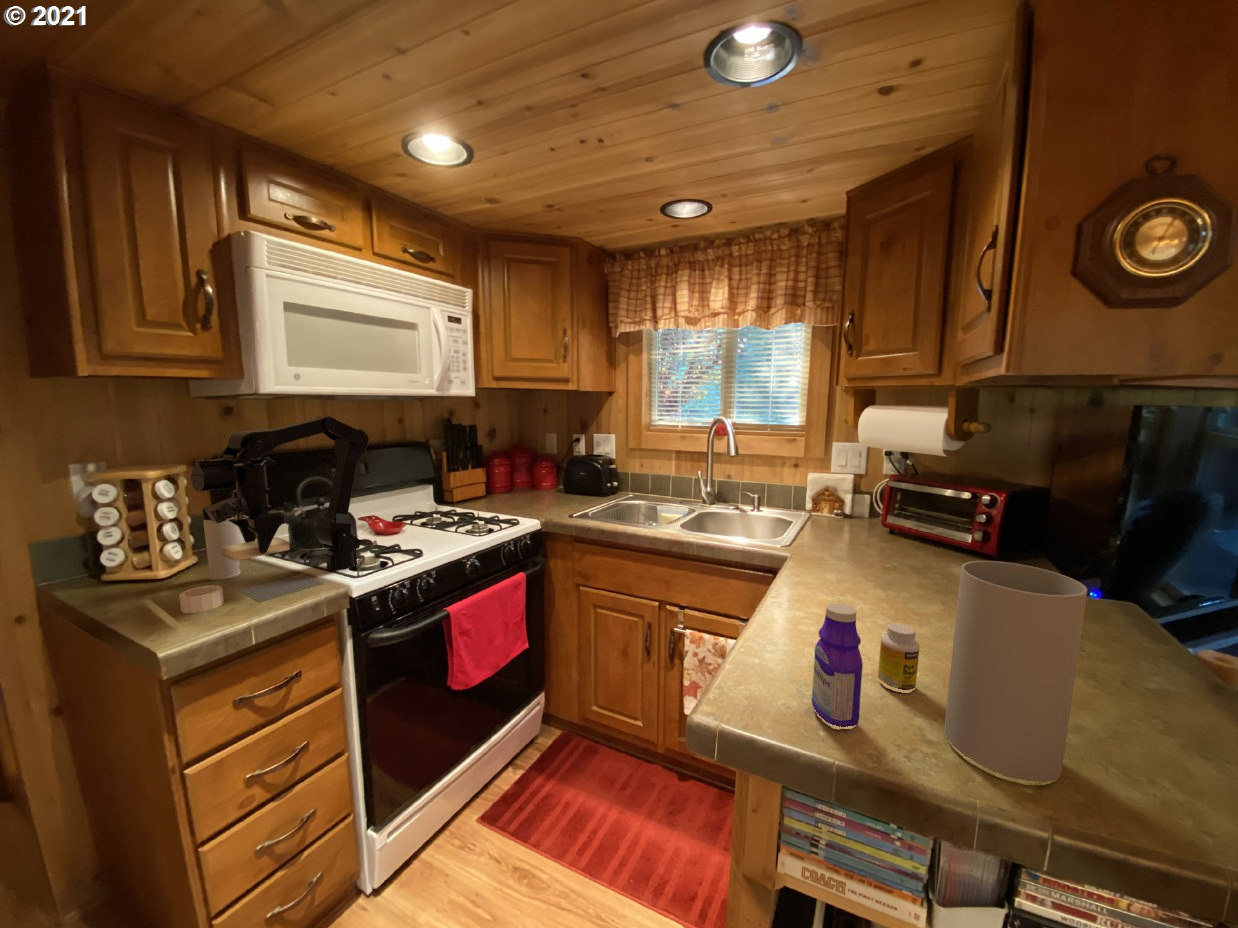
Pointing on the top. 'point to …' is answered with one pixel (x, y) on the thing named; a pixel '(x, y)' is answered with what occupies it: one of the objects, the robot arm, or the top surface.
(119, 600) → the top surface
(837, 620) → the bottle
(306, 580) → the rubber mat
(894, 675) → the supplement bottle
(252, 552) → the birch board
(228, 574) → the travel mug
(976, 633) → the cylinder vase
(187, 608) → the ceramic bowl
